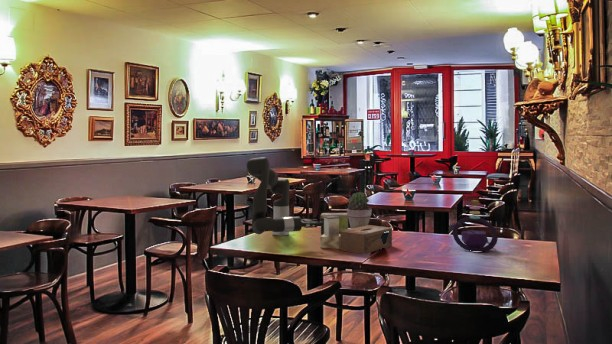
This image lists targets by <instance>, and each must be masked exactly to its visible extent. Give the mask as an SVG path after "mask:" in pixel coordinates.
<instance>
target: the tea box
mask: <svg viewBox="0 0 612 344" xmlns="http://www.w3.org/2000/svg"><path fill="white" fill-rule="evenodd" d="M324 216H337V217H339V234H340V231H344V230H348V229H349V223H348V222H349V218H348V213H347V212H322V213H321V214H320V222H322V221H323V222H324ZM323 234H324V226H320V237H321V236H322V235H323Z"/></svg>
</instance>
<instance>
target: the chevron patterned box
mask: <svg viewBox="0 0 612 344" xmlns="http://www.w3.org/2000/svg"><path fill="white" fill-rule="evenodd" d="M319 244H320V245H319V247H320V249H338V250H339V249H340V234H339V236H332V237H328V236H325V235H324V234H323V235H322V236H321V235H320V236H319Z"/></svg>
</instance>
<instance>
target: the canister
mask: <svg viewBox="0 0 612 344" xmlns="http://www.w3.org/2000/svg"><path fill="white" fill-rule="evenodd" d="M324 235H325V236H328V237H332V236H339V217H337V216H324Z"/></svg>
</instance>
